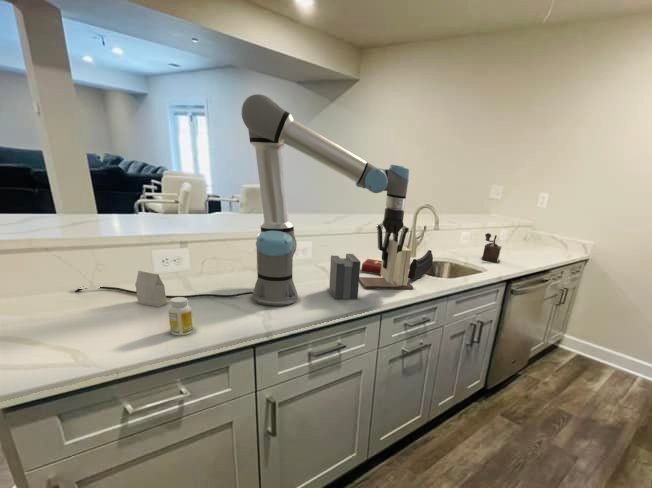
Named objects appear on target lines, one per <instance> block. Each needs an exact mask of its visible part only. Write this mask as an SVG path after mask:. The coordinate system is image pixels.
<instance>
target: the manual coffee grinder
mask: <svg viewBox="0 0 652 488" xmlns="http://www.w3.org/2000/svg"><path fill="white" fill-rule="evenodd" d="M484 236H485V241H486V242H488V243H486V244H485V245H484V249H483V252H482V253H483V254H482V256H481V260H483V261H486V262H491V263H496V264H497V263H498V262H499V260H500V256H501V251H502V246H501V245H498V244H497V243H496V240H497V237H498V235H496V234H495V235H494V237H493V240H491V238H492V234H491V233H489V232H488V233H485V234H484Z"/></svg>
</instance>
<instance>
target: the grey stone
mask: <svg viewBox="0 0 652 488" xmlns="http://www.w3.org/2000/svg"><path fill="white" fill-rule="evenodd" d="M134 286H135V291H136V292H137V294H136V296H137V303H138V304H143V305H148V306H153V307H160V306H163V305H165V304H167V298H166V296H167V295H166V288H165V284H164V283H163V280H162V279H161V277H160V274H158V273H154V272H150V271H145V270H138V271H137V276H136V280H135V285H134Z"/></svg>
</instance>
